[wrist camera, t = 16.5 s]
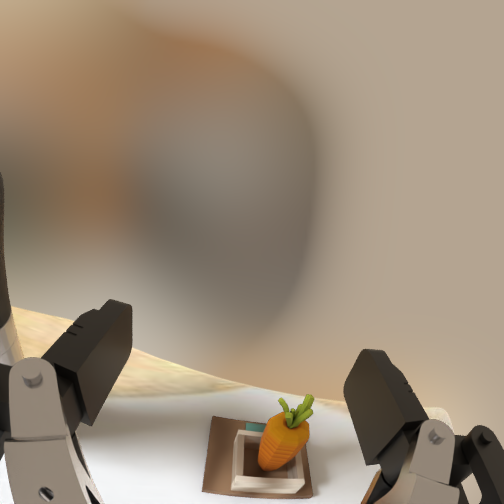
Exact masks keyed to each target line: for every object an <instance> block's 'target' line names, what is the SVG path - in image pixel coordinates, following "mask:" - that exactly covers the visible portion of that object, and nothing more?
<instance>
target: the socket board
mask: <svg viewBox="0 0 504 504" xmlns="http://www.w3.org/2000/svg"><path fill="white" fill-rule="evenodd" d="M266 425H267V424H265V423H256V422H248V421H241V420H234V419H227V418H222V417H216V416H213V417H212V422H211V429H210V436H209V443H208V450H207V457H206V464H205V472H204V479H203V487H202V492H207V493H213V494H220V495H228V496H238V497H249V498H267V499H305V498H311V497H312V496H313V491H312V484H311V477H310V471H309V464H308V457H307V451H306V444H305V445H304V446H303V448H302V449H301V450H300V451H299V452H298V453H297V455H296V456H295V457H293V458H292V459H291V460H290V461H288V462H287V463H286V464H284V465H283V466H281V467H279V468H278V469H276V470H273V471H263V470H262V469H261V467H260V466H259V463H258V455H259V447H260V441H261V438H262V435H263V432H264V430H265V427H266Z"/></svg>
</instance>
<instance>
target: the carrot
mask: <svg viewBox="0 0 504 504" xmlns="http://www.w3.org/2000/svg"><path fill="white" fill-rule="evenodd" d="M278 401H279V403H280V404H281V406H282V407H283V410H284V412H281V413H279V414H278V415H276V416H274V417H272V418H270V419H269V421H268V423H267V425H266V427H265V430H264V432H263V435H262V438H261V441H260V447H259V455H258V463H259V466H260V467H261V469H262V470H263V471H273V470H276V469H278V468H279V467H281V466H283V465H284V464H286V463H287V462H288V461H290V460H291V459H292V458H293V457H295V456H296V455H297V453H298V452H299V451H300V450H301V449H302V448H303V446H304V445H305V444H306V442H307V441H308V439H309V423H308V422H306V421H305V420H306V419H307V418H309V417H310V416H311V415H312V414H313V410H312V409H310V408H311V406H312V404H313V401H314V397H313V396H312V395H309V394H307V395H306V397H305V399H304V401H303V404H300V405H298V407H297V409H296V411H295V409H293V408H292V409H291V411H290V412H289V408H288V405H287V404H286V402H285V401H284V400H283V399H282V398H280V399H279V400H278Z"/></svg>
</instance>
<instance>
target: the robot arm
mask: <svg viewBox="0 0 504 504" xmlns="http://www.w3.org/2000/svg"><path fill="white" fill-rule="evenodd" d="M3 231H4V186H3V179H2V175H1V173H0V460H1V458H2V456H3V454H5V461H6V467H7V473H8V478H9V483H10V488H11V492H12V496H13V500H14V504H104V502H103V500H102V498H101V496H100V494H99V492H98V490H97V488H96V486H95V484H94V482H93V479H92V477H91V474H90V471H89V469H88V466H87V463H86V460H85V457H84V454H83V451H82V448H81V445H80V442H79V439H78V435H77V432H76V429H77V427H78V425H79V423H80V422H83V423H85V424H87V425H89V426H92V425H93V423H94V421H95V419H96V417H97V415H98V413H99V411H100V410H101V408H102V406H103V404H104V402H105V400H106V398H107V396H108V394H109V393H110V391H111V389H112V387H113V385H114V383H115V382H116V380H117V378H118V376H119V374H120V373H121V371H122V369H123V367H124V365H125V364H126V362H127V360H128V358H129V356H130V353H131V349H132V306H131V305H129V304H126V303H123V302H119V301H115V300H112V299H109V300H108V301H107V302H106V303H105V304H104V305H103V306H102V307H101V309H100V310H95V309H92V310H90V311H88V312H86V313H84V314H82V315H80V316H79V318H78V319H77V320H76V321H75V322H74V323H73V325H71V326H70V327H69V328H68V329H67V330H66V332H64V333H63V334H62V335H61V336H60V337H59V339H58V340H57V341H56V342H55V343H54V344H53V345H52V346H51V347H50V348H49V350H48V351H47V352H46V353H45V354H44V355H43V356H42V357H41V358H36V357H30V358H25V359H24V355H23V352H22V349H21V346H20V342H19V338H18V335H17V331H16V327H15V323H14V319H13V314H12V310H11V305H10V300H9V294H8V288H7V278H6V270H5V260H4V243H3V242H4V239H3V236H4V234H3V233H4V232H3ZM344 397H345V400H346V403H347V406H348V409H349V412H350V415H351V418H352V421H353V424H354V428H355V431H356V434H357V437H358V440H359V443H360V446H361V450H362V453H363V456H364V459H365V463H366V466H367V465H375V464H380V466H381V468H380V469H379V470H378V471H377V472H376V474H375V476H374V478H373V480H372V483H371V485H370V487H369V489H368V491H367V493H366V494H365V496H364V498H363V500H362V502H361V504H469V503H468V500H467V497H466V495H465V492H464V490H463V487H462V484H461V482H462V481H463V480H465V479H466V478H467V477H468V476H469V475H470V474H472V473H473V474H474V476H475V478H476V480H477V483H478V486H479V488H480V490H481V493H482V499H481V502H480V503H479V504H504V450H503V448H502V446H501V444H500V442H499V441H498V439H497V437H496V436H495V434H494V433H493V432H492V431H491V430H490V429H489V428H487V427H485V426H482V425H478V426H475V427H474V428H473V429H472V430H471V431H470V432H469V434H468V435H467V436H461V435H454V433H453V431H452V430H451V428H450V427H449V426H448V425H446V424H445V423H444V422H442V421H439V420H435V419H430V420H429V418H428V416H427V414H426V412H425V411H424V409H423V407H422V405H421V404H420V402H419V400H418V398H417V397H416V395H415V393H413V390H412V388H411V386H410V385H408V382H407V380H406V378H405V377H404V375H403V373H402V372H401V371H400V370H399V369H398V368H397V367H395V366H394V365H393V364H392V363H391V361H390V359H389V358H388V356H387V354H386V353H385V352H384V351H383V350H373V349H363V350H362V351H361V352H360V354H359V356H358V358H357V360H356V362H355V364H354V366H353V368H352V370H351V371H350V373H349V375H348V377H347V379H346V381H345V384H344Z"/></svg>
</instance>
